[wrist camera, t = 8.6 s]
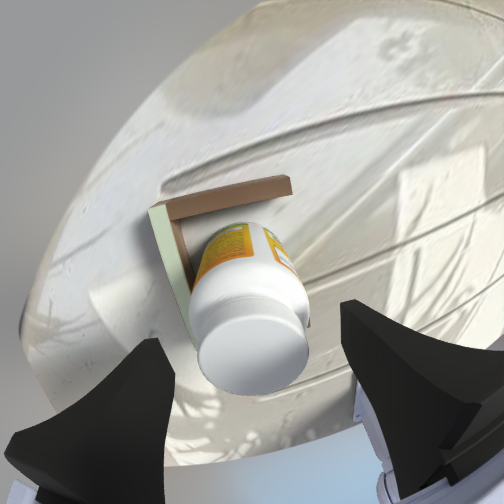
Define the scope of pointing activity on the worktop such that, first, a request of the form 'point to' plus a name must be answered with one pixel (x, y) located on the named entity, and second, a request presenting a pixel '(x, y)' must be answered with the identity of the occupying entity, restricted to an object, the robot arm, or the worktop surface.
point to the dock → (205, 201)
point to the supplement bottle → (249, 312)
